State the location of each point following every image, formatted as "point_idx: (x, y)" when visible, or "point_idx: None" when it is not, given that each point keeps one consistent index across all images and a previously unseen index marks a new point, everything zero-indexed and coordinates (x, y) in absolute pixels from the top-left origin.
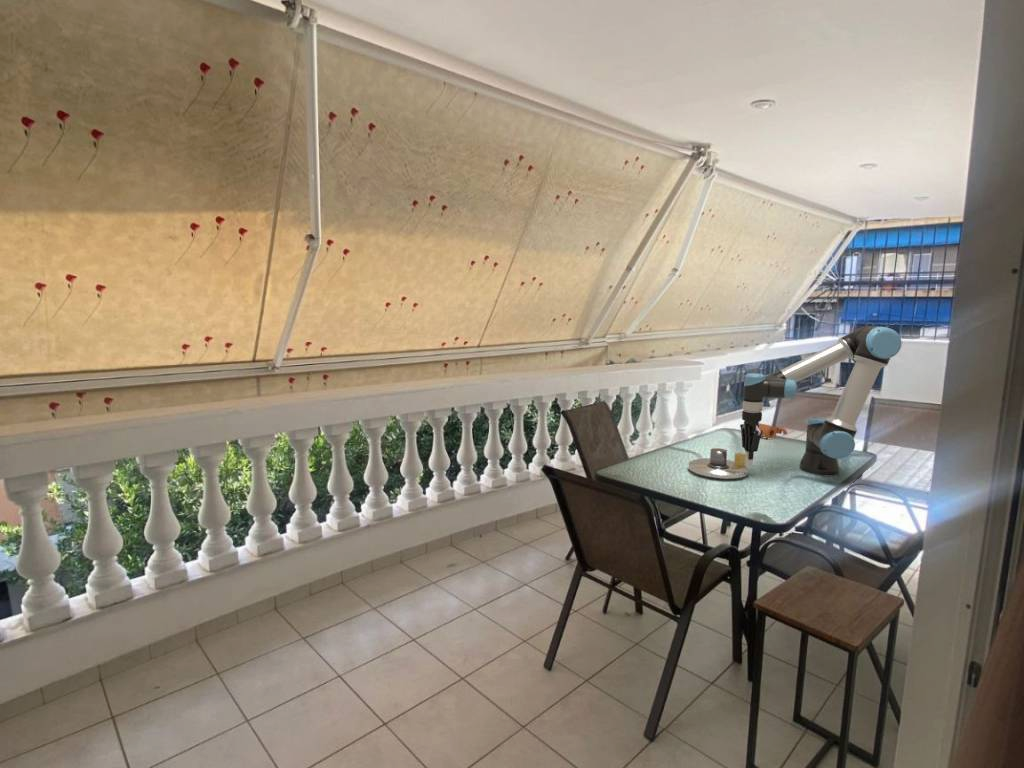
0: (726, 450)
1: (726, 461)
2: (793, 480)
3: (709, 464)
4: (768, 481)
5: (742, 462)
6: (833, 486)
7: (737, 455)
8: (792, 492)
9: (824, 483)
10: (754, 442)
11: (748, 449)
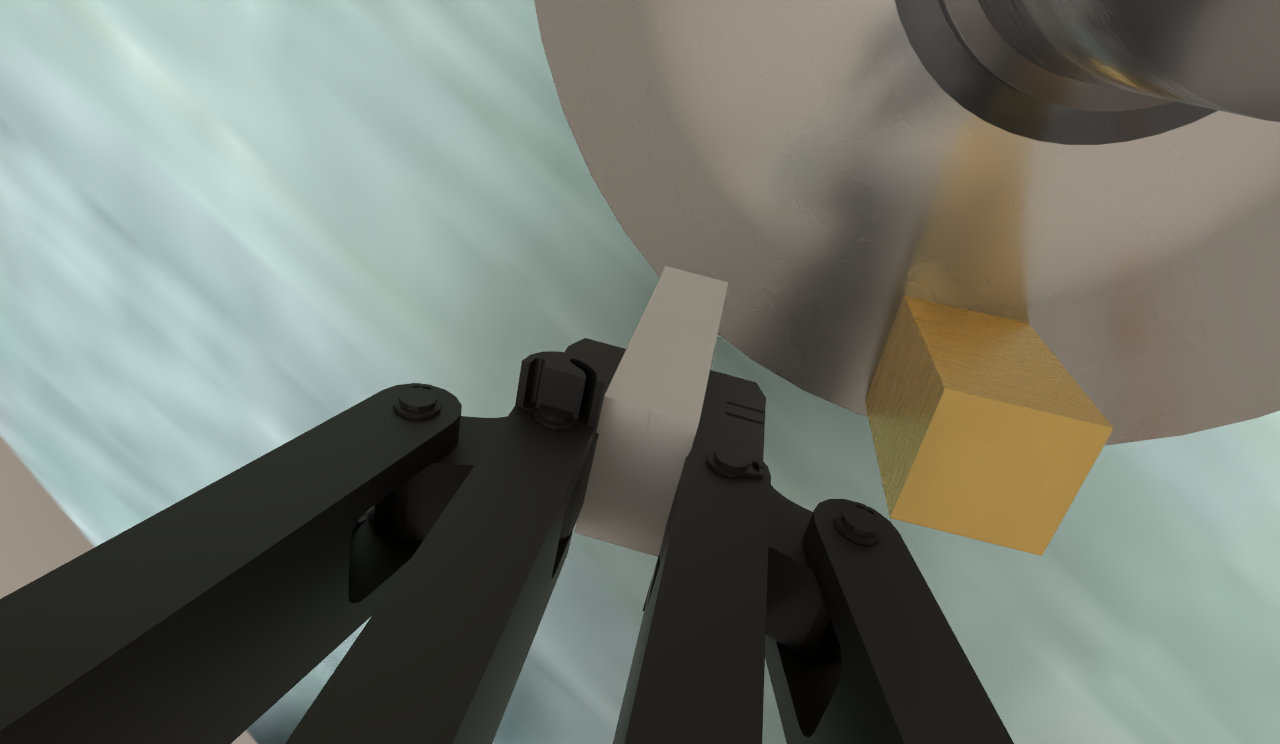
0: (1203, 82)
1: (1021, 32)
2: None
3: None
4: (460, 352)
5: (887, 390)
6: None
7: (997, 388)
8: (95, 291)
9: (305, 713)
10: (98, 565)
11: (560, 434)
